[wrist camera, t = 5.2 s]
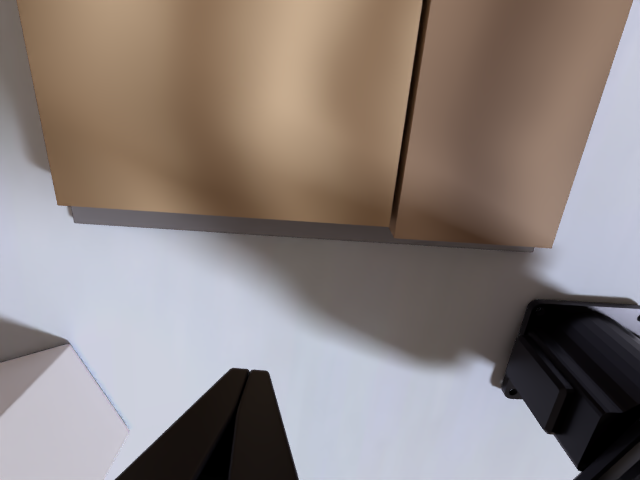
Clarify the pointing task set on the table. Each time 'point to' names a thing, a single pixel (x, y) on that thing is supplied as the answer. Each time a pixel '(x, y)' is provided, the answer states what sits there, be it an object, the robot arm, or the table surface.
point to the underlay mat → (259, 227)
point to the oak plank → (224, 104)
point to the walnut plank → (500, 116)
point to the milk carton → (55, 419)
